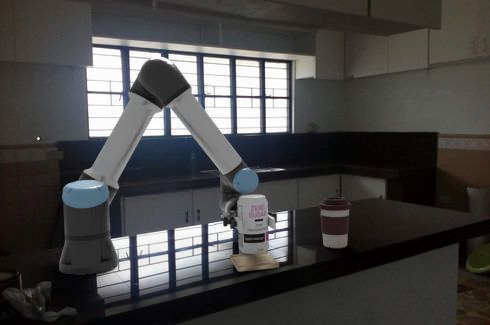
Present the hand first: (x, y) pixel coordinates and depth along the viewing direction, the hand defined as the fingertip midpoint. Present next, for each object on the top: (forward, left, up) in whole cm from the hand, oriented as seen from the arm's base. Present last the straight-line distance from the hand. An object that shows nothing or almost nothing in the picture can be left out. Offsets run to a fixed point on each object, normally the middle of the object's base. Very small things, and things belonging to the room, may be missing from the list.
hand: (257, 225), depth 109 cm
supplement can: (0, +5, -8) cm, 9 cm away
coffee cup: (+29, +15, -12) cm, 34 cm away
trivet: (0, +5, -12) cm, 12 cm away
